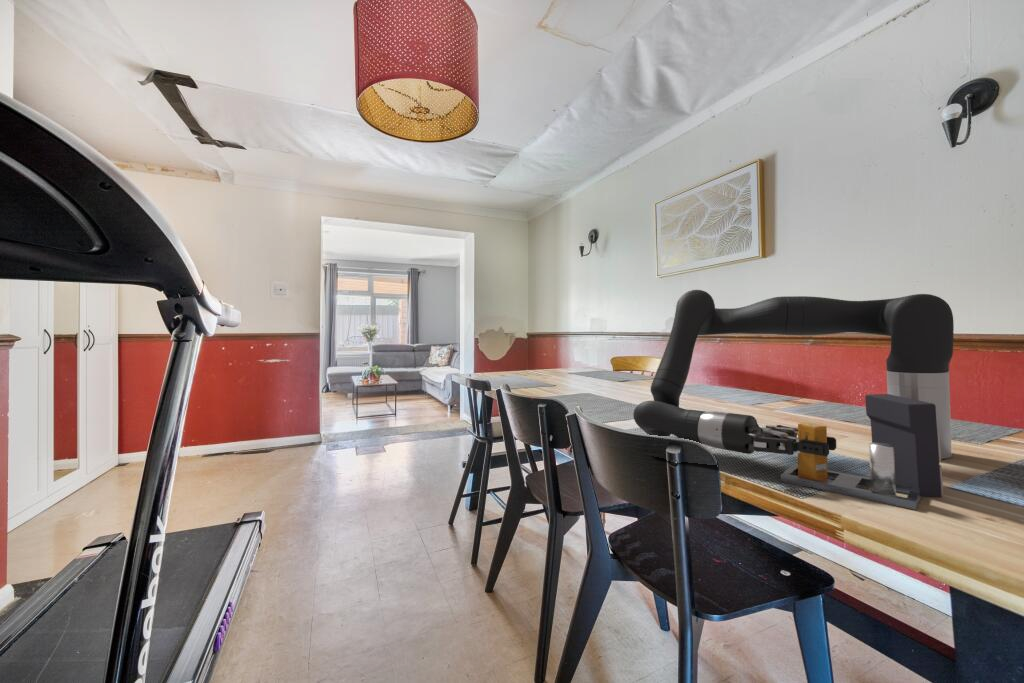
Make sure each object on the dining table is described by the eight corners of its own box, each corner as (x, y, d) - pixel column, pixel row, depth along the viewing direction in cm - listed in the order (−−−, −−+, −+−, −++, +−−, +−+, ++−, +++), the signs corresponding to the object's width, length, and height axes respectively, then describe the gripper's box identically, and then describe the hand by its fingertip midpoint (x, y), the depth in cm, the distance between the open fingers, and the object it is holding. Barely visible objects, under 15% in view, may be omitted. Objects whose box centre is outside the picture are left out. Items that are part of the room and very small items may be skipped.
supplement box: (830, 482, 70) (828, 425, 70) (814, 485, 69) (813, 427, 69) (811, 476, 73) (810, 421, 73) (796, 478, 72) (795, 423, 72)
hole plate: (794, 470, 76) (794, 464, 76) (921, 494, 63) (921, 487, 63) (781, 481, 71) (780, 474, 71) (915, 509, 58) (915, 501, 58)
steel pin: (872, 489, 66) (871, 441, 66) (897, 494, 64) (896, 444, 64) (869, 494, 64) (867, 445, 64) (894, 500, 62) (893, 448, 62)
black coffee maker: (948, 499, 62) (942, 403, 62) (915, 499, 63) (909, 404, 63) (897, 475, 73) (892, 393, 73) (869, 475, 74) (864, 394, 74)
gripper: (711, 418, 77) (820, 432, 64) (740, 408, 86) (841, 418, 73) (712, 457, 77) (822, 479, 64) (741, 442, 86) (842, 459, 73)
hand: (831, 446), depth 69 cm, fingers closed on supplement box, 4 cm apart
